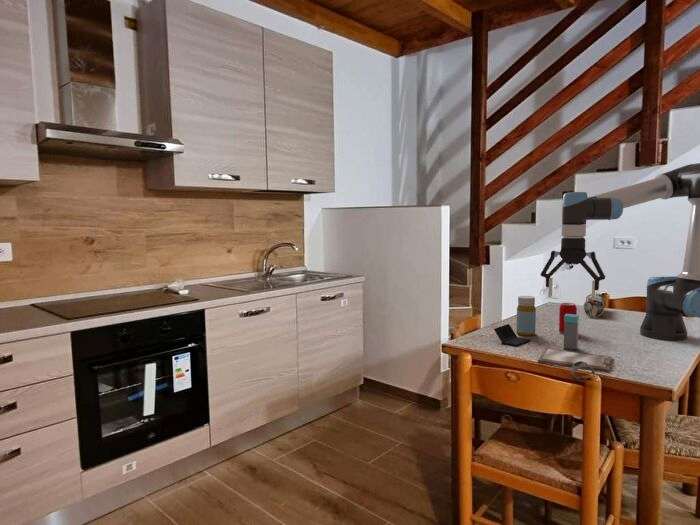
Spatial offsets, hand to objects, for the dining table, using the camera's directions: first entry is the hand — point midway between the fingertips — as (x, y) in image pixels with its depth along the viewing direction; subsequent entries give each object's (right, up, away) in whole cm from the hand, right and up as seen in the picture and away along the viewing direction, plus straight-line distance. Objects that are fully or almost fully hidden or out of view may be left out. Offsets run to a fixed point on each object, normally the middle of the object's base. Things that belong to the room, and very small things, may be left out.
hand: (571, 298), depth 161 cm
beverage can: (+10, -16, +23) cm, 30 cm away
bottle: (-7, -16, +23) cm, 29 cm away
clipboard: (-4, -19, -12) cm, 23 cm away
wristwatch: (-10, -21, -28) cm, 37 cm away
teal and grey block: (+1, -18, +2) cm, 18 cm away
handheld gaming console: (-16, -18, +12) cm, 27 cm away
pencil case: (+39, -12, +59) cm, 72 cm away
